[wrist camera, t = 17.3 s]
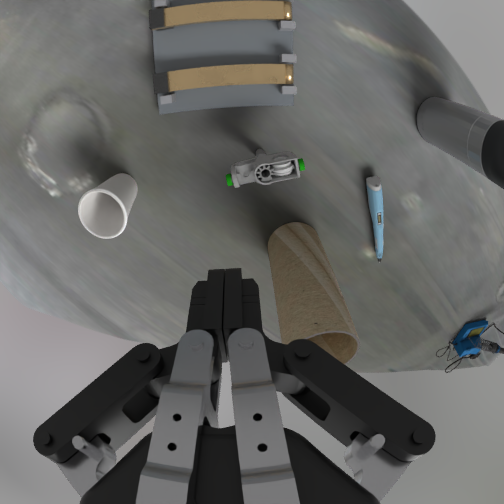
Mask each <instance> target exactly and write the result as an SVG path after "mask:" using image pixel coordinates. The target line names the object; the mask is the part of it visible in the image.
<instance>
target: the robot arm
mask: <svg viewBox="0 0 504 504" xmlns="http://www.w3.org/2000/svg"><path fill="white" fill-rule="evenodd" d="M417 127H418V130H419V133H420V134H421V136H422V137H423V139H424V140H426V141H427V142H428V143H430V144H432V145H434V146H436V147H438V148H439V149H441V150H443V151H445V152H446V153H448V154H450V155H452V156H453V157H455V158H457V159H458V160H460V161H462V162H463V163H465V164H467V165H468V166H470V167H471V168H473V169H474V170H476V171H477V172H479V173H481V174H482V175H484V176H485V177H487V178H488V179H489V180H491V181H492V182H494V183H495V184H497V185H498V186H500V187H501V188H503V189H504V120H503V119H500V118H498V117H495V116H493V115H490V114H487V113H485V112H482V111H479V110H477V109H474V108H471V107H468V106H465V105H462V104H459V103H456V102H453V101H450V100H446V99H443V98H439V97H431V98H428V99H426V100H425V101H424V102H423V103H422V104H421V106H420V108H419V110H418V114H417ZM227 356H228V359H229V362H230V371H231V381H232V399H233V409H234V419H235V425H234V426H230V427H226V428H218V408H219V407H218V406H219V397H220V388H221V378H222V377H221V373H222V362H227ZM276 391H279V392H282V394H283V395H284V396H285V397H286V398H287V399H288V400H290V401H291V402H292V403H293V404H294V405H295V406H297V407H298V408H299V409H300V410H301V411H302V412H304V413H305V414H306V415H307V416H308V417H310V418H311V419H312V420H313V421H314V422H316V423H317V424H318V425H320V426H321V427H322V428H323V429H324V430H326V431H327V432H328V433H330V434H331V435H332V436H333V437H334V438H336V439H337V440H339V441H340V442H341V443H342V444H344V445H345V446H346V447H347V448H346V450H345V454H344V459H345V462H346V464H347V465H348V466H349V468H350V469H352V471H353V473H354V479H352V478H351V477H350V476H349V475H348V474H346V473H345V472H344V471H343V470H341V469H340V468H339V467H338V466H336V465H335V464H334V463H333V462H332V461H331V460H330V459H328V458H327V457H326V456H325V455H324V454H322V453H321V452H320V451H319V450H318V449H317V448H316V447H314V446H313V445H312V444H311V443H310V442H309V441H308V440H307V439H306V438H304V437H303V436H301V435H300V434H298V433H296V432H294V431H292V430H290V429H287V428H283V424H282V419H281V414H280V409H279V404H278V399H277V394H276ZM155 415H156V418H155V423H154V427H153V432H151V433H150V434H148V435H147V436H145V437H144V438H143V439H142V440H141V441H140V442H139V443H138V444H137V445H135V446H134V448H133V449H131V450H130V451H129V452H128V453H127V454H126V455H125V456H124V457H123V458H122V459H121V460H120V461H119V462H118V463H117V464H116V453H115V451H117V450H118V449H119V448H120V447H121V446H122V445H123V444H124V443H126V442H127V441H128V440H129V439H130V438H131V437H132V436H133V435H134V434H136V433H137V432H138V431H139V430H140V429H141V428H142V427H143V426H144V425H145V424H146V423H147V422H149V421H150V420H151V419H152V418H153V417H154V416H155ZM33 442H34V446H35V448H36V450H37V451H38V452H39V453H40V454H42V455H44V456H45V457H47V458H49V459H50V460H51V461H53V462H54V463H56V464H57V465H58V467H59V468H60V470H61V471H62V472H63V474H64V475H65V477H66V478H67V479H68V481H69V482H70V483H71V485H72V486H73V487H74V489H75V490H76V491H77V492H78V494H79V495H80V496H81V497H82V499H81V501H80V504H380V500H382V498H383V497H384V496H385V495H386V494H387V493H388V491H389V490H390V489H391V487H392V486H393V485H394V484H395V483H396V481H397V480H398V479H399V478H400V476H401V475H402V474H403V472H404V471H405V470H406V468H407V467H408V466H409V464H410V463H411V462H412V461H414V460H416V459H417V458H419V457H420V456H422V455H424V454H425V453H427V452H428V451H429V450H430V449H431V448H432V446H433V445H434V442H435V431H434V429H433V427H432V426H431V425H430V424H429V423H428V422H426V421H425V420H423V419H422V418H420V417H419V416H417V415H416V414H414V413H413V412H411V411H410V410H408V409H407V408H406V407H404V406H403V405H401V404H400V403H398V402H397V401H395V400H394V399H392V398H391V397H390V396H388V395H386V394H385V393H384V392H382V391H381V390H379V389H378V388H377V387H375V386H374V385H372V384H371V383H369V382H368V381H367V380H365V379H364V378H362V377H361V376H360V375H358V374H357V373H355V372H354V371H353V370H351V369H350V368H348V367H347V366H346V365H344V364H343V363H342V362H340V361H339V360H337V359H336V358H335V357H333V356H332V355H331V354H329V353H328V352H326V351H325V350H324V349H322V348H321V347H320V346H318V345H317V344H316V343H314V342H313V341H310V340H307V339H296V340H293V341H291V342H290V343H289V344H288V345H287V344H282V343H278V342H274V341H272V340H270V339H269V338H268V337H267V336H266V335H265V334H264V332H263V329H262V320H261V309H260V299H259V288H258V285H257V283H256V282H255V281H254V279H242V273H241V268H233V269H214V270H209V271H208V279H207V281H198V282H197V283H196V285H195V286H194V288H193V289H192V295H191V302H190V308H189V315H188V322H187V329H186V333H185V334H184V335H183V336H182V337H181V338H180V341H179V342H178V343H177V344H175V345H173V346H170V347H166V348H162V349H158V348H157V347H156V346H155V345H153V344H150V343H143V344H139V345H137V346H135V347H134V348H132V349H131V350H130V351H129V352H128V353H126V354H125V355H124V356H123V357H122V358H121V359H119V360H118V361H117V362H116V363H115V364H114V365H112V366H111V367H110V368H109V369H107V370H106V371H105V372H104V373H103V374H101V375H100V376H99V377H98V378H97V379H95V380H94V381H93V382H92V383H91V384H90V385H88V386H87V387H86V388H85V389H84V390H82V391H81V392H80V393H79V394H77V395H76V396H75V397H74V398H73V399H71V400H70V401H69V402H68V403H67V404H65V405H64V406H63V407H62V408H61V409H60V410H58V411H57V412H56V413H55V414H54V415H52V416H51V417H50V418H49V419H48V420H46V421H45V422H44V423H43V424H42V425H40V426H39V427H38V428H37V430H36V431H35V433H34V437H33ZM115 464H116V465H115Z"/></svg>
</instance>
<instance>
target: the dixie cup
mask: <svg viewBox="0 0 504 504" xmlns="http://www.w3.org/2000/svg"><path fill="white" fill-rule="evenodd" d="M137 191H138V188H137V183H136V181H135V180H134V179H133V178H132V177H131V176H130V175H128V174H125V173H119V174H116V175H114V176H112V177H111V178H109V179H108V180H106V181H105V182H103V183H102V184H100V185H99V186H97V187H96V188H94V189H91V190H89V191H87V192H86V193H85V194H84V195H83V196H82V197H81V199H80V201H79V205H78V213H79V217H80V220H81V222H82V224H83V225H84V227H85V228H86V229H87V230H88V231H89V232H90V233H92V234H93V235H95V236H97V237H100V238H113V237H116V236H118V235H119V234H121V233H122V231H123V230H124V229H125V227H126V224H127V217H128V215H129V212H130V210H131V207H132V205H133V202H134V200H135V197H136V195H137Z"/></svg>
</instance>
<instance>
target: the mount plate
mask: <svg viewBox="0 0 504 504" xmlns="http://www.w3.org/2000/svg"><path fill="white" fill-rule="evenodd" d="M223 1H289V2H291V3H292V2H293V1H294V0H152V10H154V9H159V8H170V7H177V6H183V5H191V4H199V3H210V2H223ZM291 6H292V4H291ZM295 29H296V21H278V20H240V21H220V22H208V23H198V24H190V25H182V26H175V27H169V28H163V29H158V30H153V47H154V62H155V74H156V73H162V72H169V71H176V70H183V69H191V68H200V67H210V66H223V65H240V64H293V63H296V62H297V59H296V54H293V30H295ZM294 94H297V86H294V82H293V84H245V85H227V86H214V87H203V88H194V89H185V90H178V91H171V92H165V93H159V94H157V96H158V106H159V115H160V114H167V113H175V112H183V111H191V110H201V109H212V108H225V107H243V106H294Z"/></svg>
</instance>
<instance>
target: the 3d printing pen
mask: <svg viewBox="0 0 504 504" xmlns="http://www.w3.org/2000/svg"><path fill="white" fill-rule="evenodd" d="M366 185H367V193H368V202H369V209H370V213H371V217H372V222H373V229H374V239H375V249H376V255H377V259H378V261H379V262H381V258H382V254H383V244H384V240H383V227H384V223H383V198H382V186H381V180H380V177H379V176H373V177H368V178H366Z"/></svg>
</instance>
